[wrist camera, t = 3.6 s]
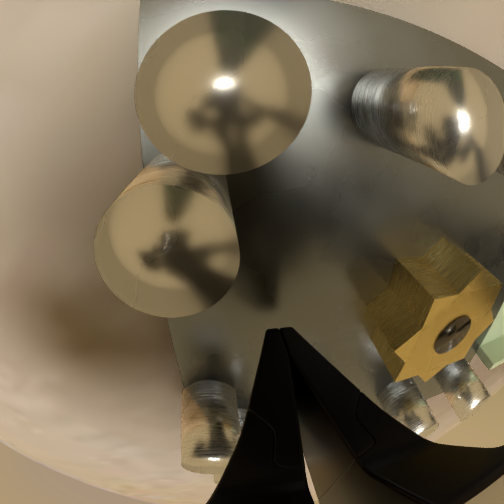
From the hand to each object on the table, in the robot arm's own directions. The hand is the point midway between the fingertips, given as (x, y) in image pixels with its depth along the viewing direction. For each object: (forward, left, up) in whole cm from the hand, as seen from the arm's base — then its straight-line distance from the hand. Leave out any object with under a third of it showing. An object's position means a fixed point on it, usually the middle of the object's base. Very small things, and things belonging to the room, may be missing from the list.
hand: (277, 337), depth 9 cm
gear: (-6, 0, -1) cm, 6 cm away
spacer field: (-5, 0, -2) cm, 6 cm away
